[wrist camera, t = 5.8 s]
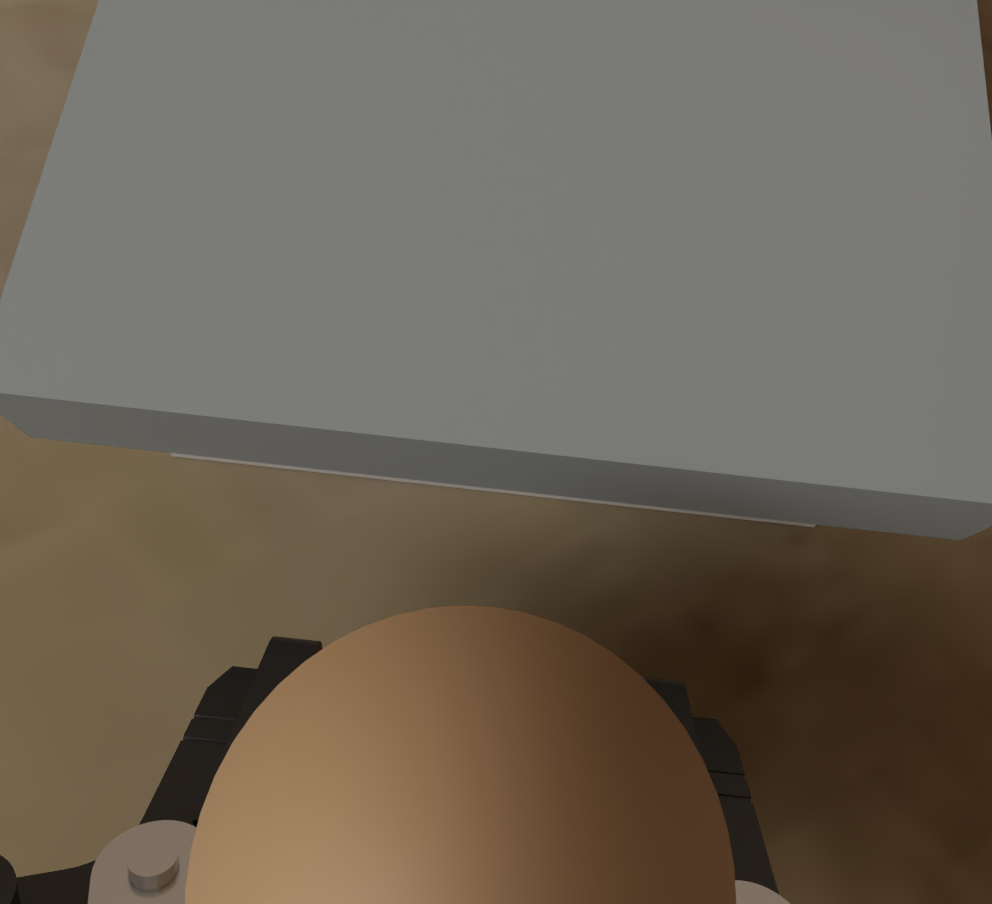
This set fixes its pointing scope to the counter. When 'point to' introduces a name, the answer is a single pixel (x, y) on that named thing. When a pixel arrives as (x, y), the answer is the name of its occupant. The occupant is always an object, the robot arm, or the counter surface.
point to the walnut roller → (462, 777)
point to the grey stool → (528, 251)
